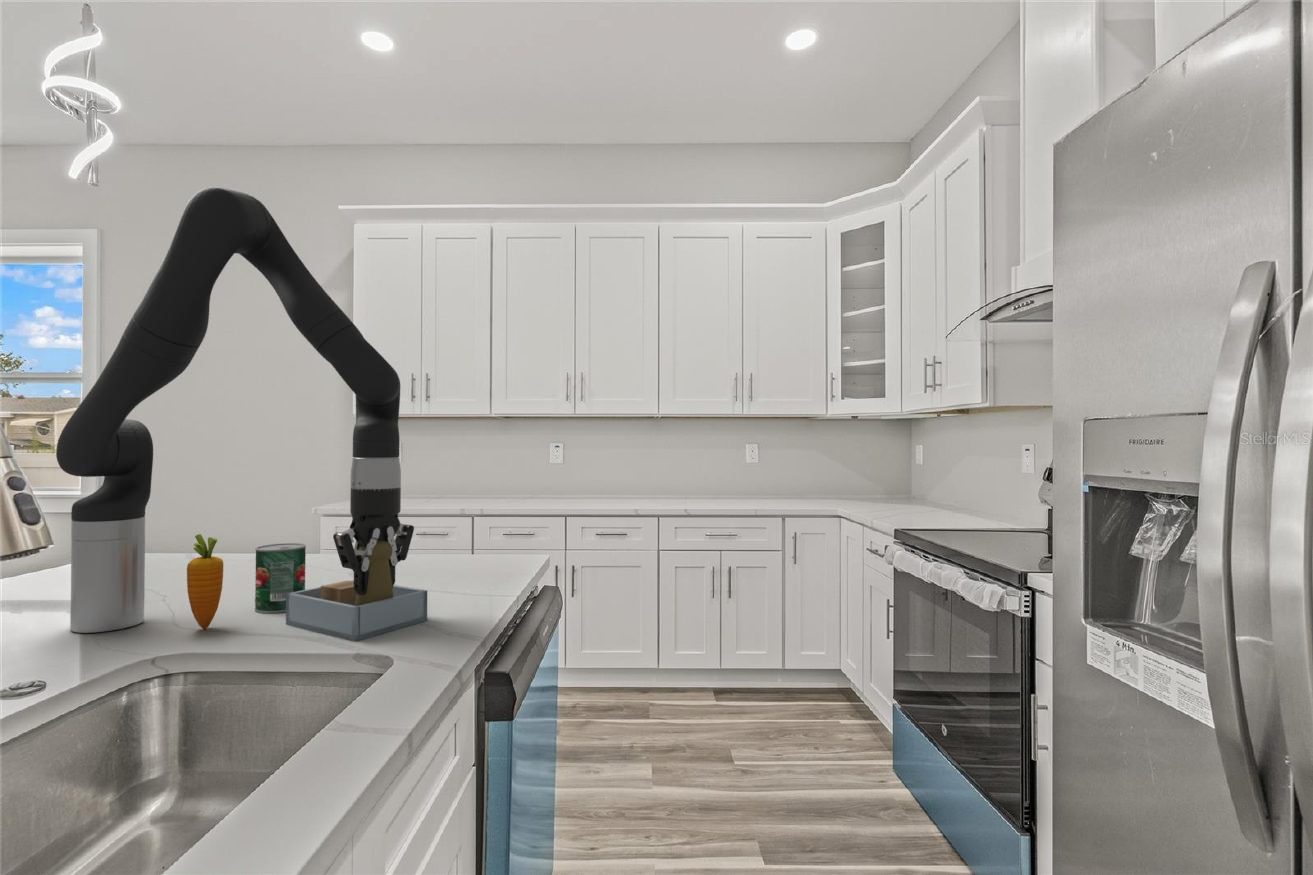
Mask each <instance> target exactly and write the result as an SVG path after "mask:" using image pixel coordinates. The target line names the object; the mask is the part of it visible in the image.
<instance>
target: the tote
mask: <svg viewBox="0 0 1313 875" xmlns="http://www.w3.org/2000/svg"><path fill="white" fill-rule="evenodd" d="M351 581H353V582H354V579H352V580H351ZM392 589H393V596H394V597H393V598H389V599H385V600H380V601H376V602H372V603H368V604H364V605H360V606H353V605H349V604H344V603H339V602H334V601H329V600H324V599H321V586H318V587H313V588H308V589H305V590H302V591H297V592H292V593H287V594H286V612H285V625H287V624H288V625H287V626H291V627H294V628H295V627H296V628H299V627H300V629H303V628H304V629H303V630H307V631H312V632H315V633H319V634H323V635H328V636H332V637H335V638H336V637H337V638H341V639H344V640H348V641H352V642H357V641H360V640H361V641H362V640H364V639H368V638H371V637H375V636H379V635H382V634H385V633H389V632H392V631H395V630H398V629H399V630H400V629H403V628H407V627H409V626H410V627H411V626H413V625H416V624H420V623H423V622H427V621H428V590H427V589H426V590H425V589H420V588H414V587H408V586H402V585H397V584H394V585H393V588H392Z"/></svg>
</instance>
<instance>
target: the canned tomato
mask: <svg viewBox="0 0 1313 875" xmlns="http://www.w3.org/2000/svg"><path fill="white" fill-rule="evenodd" d="M306 547H307V545H306V544H304V543H300V542H299V543H296V542H294V543H293V542H292V543H290V542H287V543H272V544H265V545H260V546H257V547H255V572H254V573H255V576H254V577H255V584H254V586H255V589H254V595H255V596H254V601H255V602H254V605H255V606H254V607H255V608H254V611H255V612H256V613H259V612H260V614H280V613H281V614H282V613H286V594H287V593H292V592H297V591H302V590H306V553H307V552H306Z"/></svg>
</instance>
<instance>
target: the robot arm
mask: <svg viewBox="0 0 1313 875" xmlns="http://www.w3.org/2000/svg"><path fill="white" fill-rule="evenodd" d="M293 248H294V247H293V246H291V244H290V242H289V241H288V239H287V238H286V236H285V234H284V233H283V231H282V230H281V228H280V227H279V225H278V223H277V221H276V220H275V219H274V218H273V216H272V214H271V213H270V211H269V210H268V209H267V207H266V206H265V204H263V203H262V202H261V201H260V200H259V199H257V198H256V197H255V196H252V195H249V193H245V192H241V191H236V190H232V189H229V188H226V187H219V186H210V187H206V188H202V189H200V190H198V191H197V192H196V193H195V194H193V195H192V196H191V198H190V199H189V200H188V201H187V204H186V205H185V207H184V209H183V211H182V214H181V216H180V218H179V221H178V225H177V226H176V229H175V232H174V234H173V237H172V239H171V242H170V245H169V248H168V249H167V252H166V255H165V257H164V259H163V261H162V264H161V265H160V267H159V269H158V270H157V272H156V274H155V276H154V277H153V280H152V281H151V283H150V284H149V287H148V289H147V291H146V293H145V294H144V296H143V297H142V301H141V302H140V303H139V305H138V306H137V308H136V309H135V311H134V313H133V315H132V316H131V319H130V320H129V322H128V324H127V326H126V327H125V329H124V331H123V333H122V335H121V338H120V340H119V342H118V344H117V346H116V347H115V349H114V351H113V352H112V354H111V357H110V358H109V360H108V361H107V363H106V365H105V366H104V369H103V370H102V372H101V373H100V375H99V377H98V378H97V380H96V381H95V383H94V384H93V386H92V387H91V389H90V390H89V392H88V393H87V394H86V395H85V397H84V398H83V400H82V401H81V403H80V404H79V406H78V407H77V408H76V409H75V411H74V412H73V414H72V415H71V417H70V418H69V419H68V420H67V422H66V424H65V425H64V427H63V429H62V431H61V433H60V435H59V438H58V441H57V443H56V451H55V453H56V454H55V456H56V460H57V463H58V466H59V468H60V469H61V470H62V471H63V472H64V473H66V474H68V475H71V476H74V477H81V478H82V477H84V478H86V477H87V478H90V477H91V478H94V477H95V478H96V477H104V478H103V483H102V485H101V486H100V487H99V488H98V489H97V490H96V491H94V492H92V493H90V494H89V495H87V496H85V497H83V498H81V499H78V500H76V501H75V502H74V503H73V504H72V506H71V510H70V511H71V512H70V513H71V516H70V519H71V523H70V524H71V531H70V533H71V534H70V535H71V536H70V537H71V542H70V544H71V548H70V552H71V553H70V554H71V555H70V556H71V558H70V562H71V563H70V565H71V566H70V568H71V569H70V617H69V618H70V623H69V624H70V625H69V627H70V631H71V632H73V633H83V634H85V633H86V634H87V633H100V632H101V633H102V632H109V631H116V630H122V629H125V628H126V629H127V628H129V627H133V626H137V625H140V624H141V623H143V622H144V621H145V582H146V581H145V580H146V578H145V577H146V576H145V575H146V573H145V572H146V571H145V570H146V569H145V568H146V561H145V560H146V508H147V505H148V503H149V500H150V498H151V492H152V491H151V490H152V476H153V465H154V444H153V442H154V441H153V437H152V435H151V433H150V430H149V428H148V427H147V426H146V425H145V424H144V423H142V422H141V421H139V420H135V419H130V418H129V419H128V418H127V417H128V416H129V415H130V414H131V412H132V411H133V410H134V409H135V408H136V407H137V406H138V405H139V404H141V403H142V402H143V401H145V400H146V399H147V398H149V397H151V395H153V394H155V393H156V392H158V391H159V390H161V389H162V388H164V387H165V386H167V385H168V384H170V383H171V382H172V381H174V380H176V378H178V377H179V376H180V375H181V374H183V372H185V370H186V369H187V368H188V367H189V365H190V364H191V362H192V361H193V359H194V357H195V355H197V354H196V353H197V352H198V350H199V349H200V346H201V345H202V343H203V341H204V339H205V337H206V334H207V332H208V326H209V319H210V302H211V295H212V291H213V288H214V286H215V284H216V282H217V280H218V278H219V276H220V275H221V273H222V272H223V270H224V269H225V268H226V266H227V264H228V262H229V261H230V260H231V258H232V257H233V256H234V254H239V255H240V256H241V257H243V258H244V259H246V261H248V263H250V264H251V265H252V266H253V267H255V269H256V270H258V271H259V272H260V273H261V274H262V275H263V276H264V278H265V279H266V280H267V282H269V284H270V285H271V287H272V288H273V289H274V291H275V293H276V294H277V296H278V298H279V300H280V302H281V304H282V306H283V308H284V310H285V312H286V314H287V315H288V317H289V319H290V321H291V323H292V324H293V325H294V326H295V328H296V329H297V330H298V332H300V334H301V335H302V336H303V337H304V338H305V339H306V341H307V342H308V343H309V344H310V346H312V347H313V348H314V349H315V351H316V352H317V353H318V354H319V355H320V356H321V357H322V358H323V359H324V360H326V361H327V362H328V363H329V364H330V365H331V366H332V367H333V368H334V370H335V372H337V373H338V375H339V376H340V378H341V379H343V380H342V381H344V382H345V383H346V385H347V386H348V387H349V388H350V389H351V391H352V392H353V393H354V394H355V424H354V427H353V432H352V460H351V461H352V462H351V467H350V494H349V495H350V499H349V500H350V501H349V502H350V510H349V512H350V515H351V517H352V519H351V520H352V521H351V523H350V525H349V528H348V529H346V530H344V531H343V532H334V533H333V536H332V538H333V541H334V545H335V548H336V551H337V554H338V557H339V561H340V564H341V567H342V568H344V569H348V570H351V571H353V580H354V590H355V591H356V593H357V594H360V595H365V594H366V593H367V586H368V578H369V571H367V570H368V567H369V563H370V561H369V559H368V557H370V556H371V555H372V550H371V548H372V549H373V547H374V546H375V545H376V542H378V541H387V542H389V543H390V544H391V546H392V556H391V557H390V559H389V566H390V573H391V581H392V588H393V585H396V584H395V583H396V566H397V565H398V564H399V562H401V561H406V559H407V557H408V553H409V549H410V545H411V542H412V538H413V535H414V530H415V527H414V525H412V524H404V523H401V521H400V519H399V514H400V513H401V509H402V506H401V499H402V498H401V496H402V494H401V492H402V490H401V489H402V488H401V487H402V483H401V482H402V481H401V480H402V473H401V472H402V471H401V464H400V429H399V418H400V417H399V415H400V404H401V380H400V378H399V375H398V372H397V371H396V370H395V368H394V367H393V366H392V365H391V364H390V363H389V362H388V360H386V359H385V358H384V356H383V355H382V354H380V352H378V350H377V349H376V348H374V346H372V344H371V343H369V342H368V341H367V340H366V338H365V337H364V335H363V334H362V333H361V331H360V330H359V328H357V326H356V325H355V324H354V323H353V321H352V320H351V319H350V318H349V317H348V315H346V313H345V312H344V311H343V310H342V309H341V308H340V306H339V305H338V304H337V303H336V302H335V301H334V300H333V299H332V297H330V295H329V294H328V292H326V290H325V289H324V288H323V287H322V285H320V283H319V282H318V281H317V279H316V278H315V277H314V276H313V274H312V273H311V272H310V271H309V269H308V268H307V267H306V265H305V264H304V262H303V261H302V260H301V258H300V257H299V256H298V254H297V253H296V251H295V250H294V249H293ZM354 542H355V543H354ZM353 544H354V545H353ZM359 546H361V547H367V548H366V550H365V551H361V550H359ZM359 555H362V560H360V558H359Z"/></svg>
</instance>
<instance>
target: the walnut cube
mask: <svg viewBox="0 0 1313 875" xmlns="http://www.w3.org/2000/svg"><path fill="white" fill-rule="evenodd" d="M320 587H321V599H324V600H329V601H334V602H339V603H344V604H349V605H353V606H355V602H356V596H357V593H356V591H355V590H354V582H353V581H352V580H344V581H338V582H335V583H328V584H324V585H323V584H322V585H321V586H320Z"/></svg>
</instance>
